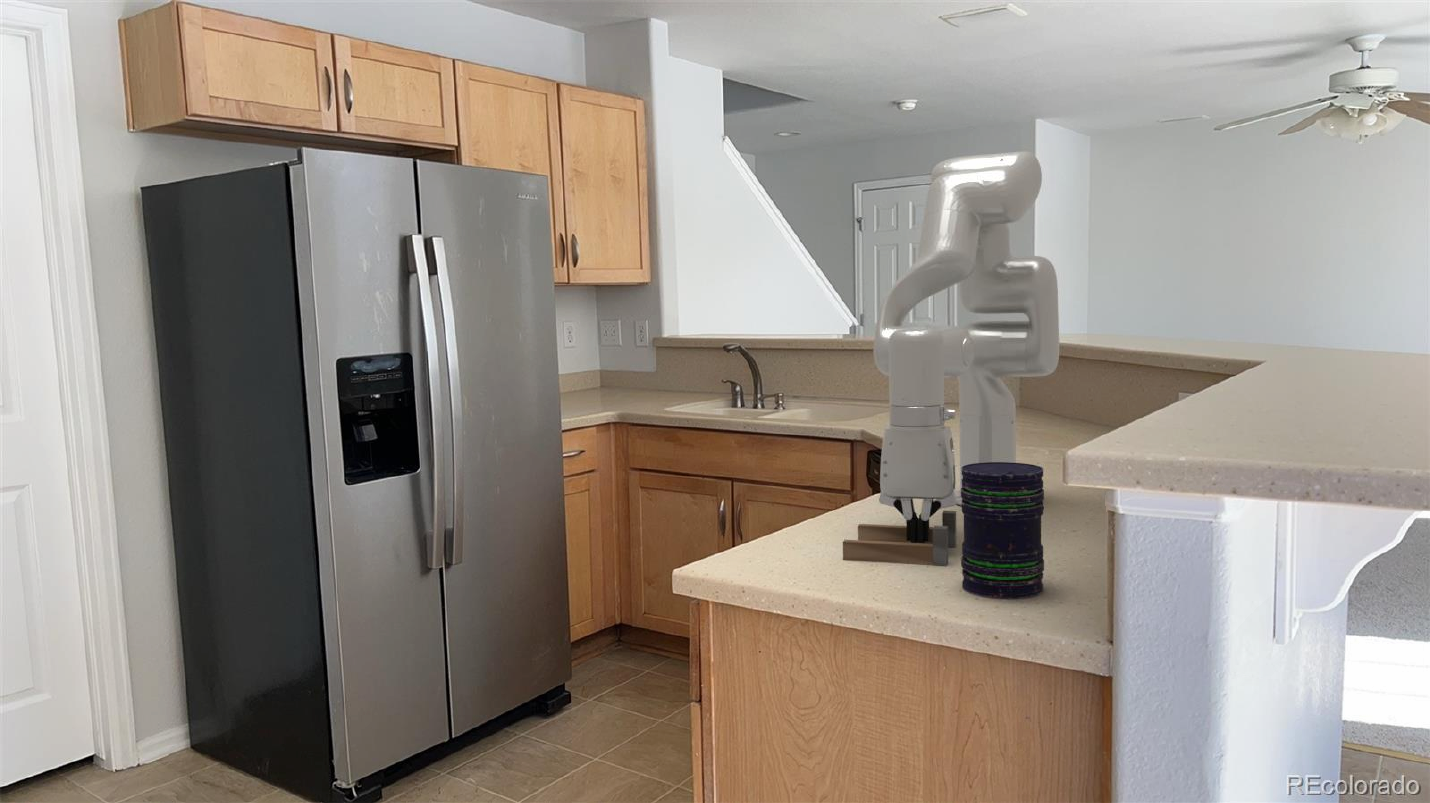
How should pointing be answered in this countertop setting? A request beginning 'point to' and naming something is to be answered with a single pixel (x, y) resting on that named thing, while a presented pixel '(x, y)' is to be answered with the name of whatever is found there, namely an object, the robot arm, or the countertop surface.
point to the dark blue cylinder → (1002, 530)
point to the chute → (902, 543)
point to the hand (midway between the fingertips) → (918, 545)
